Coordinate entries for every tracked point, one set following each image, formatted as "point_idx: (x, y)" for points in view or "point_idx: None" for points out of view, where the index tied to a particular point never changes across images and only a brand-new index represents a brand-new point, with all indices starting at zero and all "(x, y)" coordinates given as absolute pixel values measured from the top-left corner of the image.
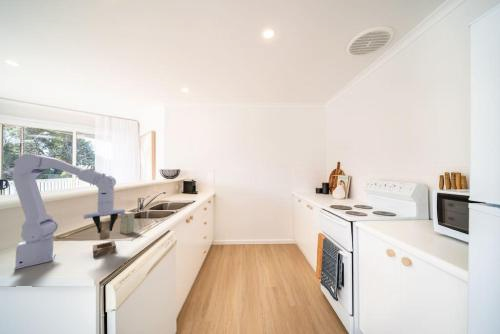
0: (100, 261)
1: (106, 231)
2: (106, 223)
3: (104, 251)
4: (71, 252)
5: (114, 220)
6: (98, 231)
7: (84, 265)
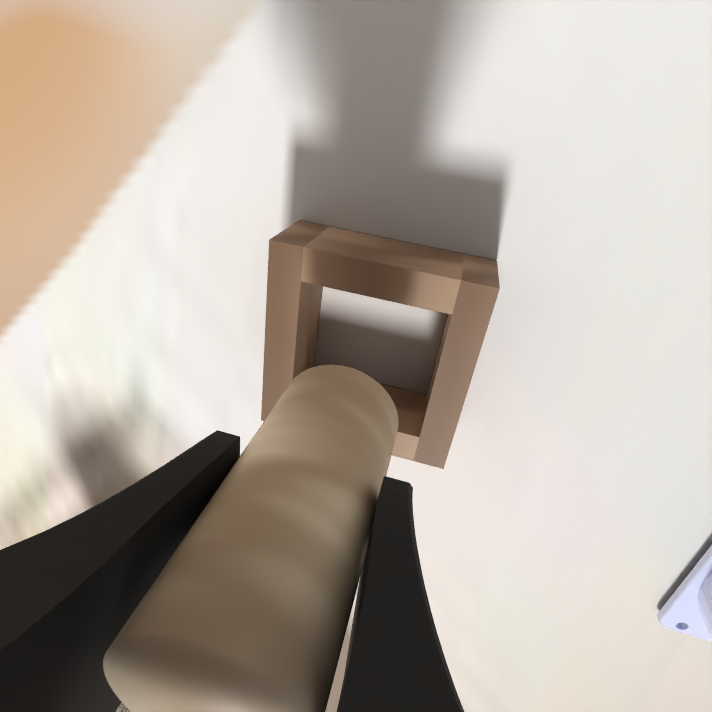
0: (487, 61)
1: (291, 438)
2: (214, 582)
3: (394, 253)
4: (563, 553)
5: (2, 566)
6: (405, 502)
7: (643, 98)
